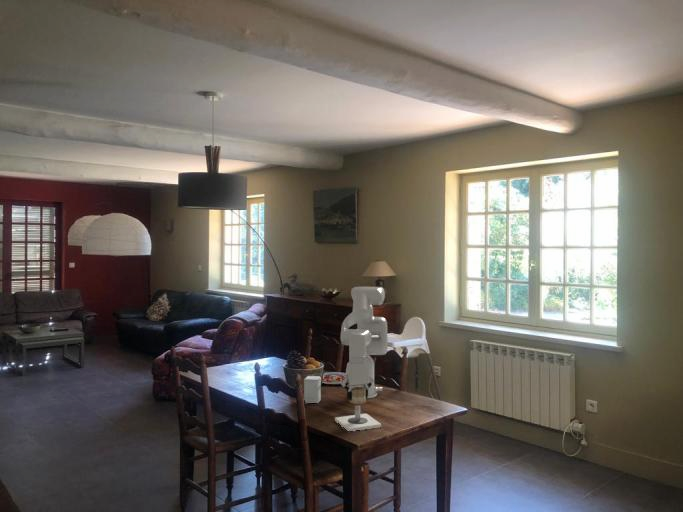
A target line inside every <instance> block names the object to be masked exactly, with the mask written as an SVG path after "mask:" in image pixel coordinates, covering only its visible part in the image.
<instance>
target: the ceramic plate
mask: <svg viewBox="0 0 683 512" xmlns="http://www.w3.org/2000/svg"><path fill="white" fill-rule="evenodd" d="M323 373H324V374H323V382H322V383H321V384H323V383H324V385H330V384H331V385H335V386H337V385H341V382H342V381H343V380H344V379H345V378H346V372H341V371H340V372H339V371H337V372H336V371H330V372H323Z"/></svg>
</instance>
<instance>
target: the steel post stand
mask: <svg viewBox="0 0 683 512" xmlns="http://www.w3.org/2000/svg"><path fill="white" fill-rule="evenodd" d="M334 421H335V422H336V423H337V424H338V423H339V424H340V425H341V426H340V425H339V424H338V425H339V426H340V427H342V428H343V427H344V428H345V429H346V430H347V431H353V432H357V431H356V430H360V431H366V430H365V429H367V430H373V428H374V429H380V427H381V428H382V423H380V422H379V421H377V420H376V418H375V419H374V418H373V417H372V416H371V415H370V414H368V413H361V405H355V406H354V414H353V415H351V414H350V415H344V416H338V417H337V416H336V417H334ZM344 428H343V429H344ZM345 429H344V430H345ZM346 430H345V431H346ZM347 431H346V432H347Z"/></svg>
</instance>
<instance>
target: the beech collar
mask: <svg viewBox="0 0 683 512" xmlns="http://www.w3.org/2000/svg"><path fill="white" fill-rule="evenodd" d="M351 392H352V400H351V401H350V400H349V399H348V400H349V403H351V404H356V405H359V404H364V403H366V402H367V399H366V388H365V387H362V386H357V385H356V386H353V387H352V389H351Z"/></svg>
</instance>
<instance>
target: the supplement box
mask: <svg viewBox="0 0 683 512" xmlns="http://www.w3.org/2000/svg"><path fill="white" fill-rule="evenodd" d="M321 386H322V383H321V377H320V376H314V375H307V376H306V377H305V378H304V379H303V401H304V400H305V402H306V403H305V404H307V403H318V404H319V402H320V401H321V399H322V393H321V389H322V387H321Z"/></svg>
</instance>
